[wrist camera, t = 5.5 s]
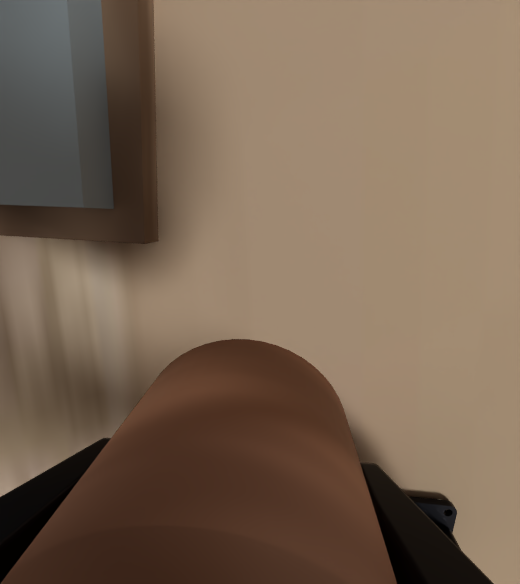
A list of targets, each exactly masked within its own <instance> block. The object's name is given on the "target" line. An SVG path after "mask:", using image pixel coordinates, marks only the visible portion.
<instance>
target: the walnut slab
mask: <svg viewBox="0 0 520 584" xmlns="http://www.w3.org/2000/svg"><path fill="white" fill-rule="evenodd" d="M101 8H102V24H103V39H104V55H105V70H106V86H107V102H108V118H109V135H110V152H111V168H112V185H113V201H114V209H101V208H75V207H48V206H21V205H0V235H6V236H22V237H39V238H56V239H73V240H89V241H106V242H123V243H140V244H146V243H151V242H156V241H158V205H157V155H156V105H155V55H154V5H153V0H101Z"/></svg>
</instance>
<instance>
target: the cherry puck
mask: <svg viewBox="0 0 520 584" xmlns="http://www.w3.org/2000/svg"><path fill="white" fill-rule="evenodd" d="M1 584H397V581H396V578H395V575H394V572H393V568H392V565H391V562H390V559H389V555H388V552H387V549H386V546H385V542H384V539H383V536H382V533H381V529H380V526H379V523H378V520H377V516H376V513H375V510H374V507H373V503H372V500H371V497H370V494H369V490H368V487H367V484H366V480H365V477H364V474H363V471H362V467H361V464H360V461H359V458H358V454H357V451H356V448H355V445H354V441H353V438H352V435H351V432H350V428H349V425H348V422H347V419H346V415H345V412H344V409H343V407H342V404H341V402H340V399H339V397H338V395H337V394H336V392H335V390H334V389H333V387H332V386H331V384H330V383H329V382H328V381H327V379H326V378H325V377H324V376H323V375H322V374H321V373H320V372H319V371H318V370H317V369H316V368H315V367H314V366H313V365H311V364H310V363H309V362H307V361H306V360H305V359H303V358H302V357H300V356H298V355H296V354H295V353H293V352H291V351H289V350H287V349H284V348H282V347H279V346H277V345H273V344H269V343H266V342H262V341H255V340H245V339H231V340H222V341H216V342H212V343H208V344H204V345H202V346H199V347H197V348H194V349H192V350H190V351H188V352H186V353H184V354H183V355H181V356H179V357H178V358H177V359H175V360H174V361H173V362H171V363H170V364H169V365H168V366H167V367H166V368H165V369H164V370H163V371H162V372H161V373H160V375H159V376H158V377H157V379H156V380H155V381H154V383H153V384H152V385H151V387H150V388H149V389H148V391H147V392H146V393H145V394H144V396H143V397H142V398H141V400H140V401H139V402H138V404H137V405H136V406H135V408H134V409H133V410H132V412H131V413H130V414H129V415H128V417H127V418H126V419H125V421H124V422H123V423H122V425H121V426H120V427H119V429H118V430H117V431H116V433H115V434H114V435H113V436H112V438H111V439H110V440H109V442H108V443H107V444H106V446H105V447H104V448H103V450H102V451H101V452H100V454H99V455H98V456H97V458H96V459H95V460H94V461H93V463H92V464H91V465H90V467H89V468H88V469H87V471H86V472H85V473H84V475H83V476H82V477H81V479H80V480H79V481H78V482H77V484H76V485H75V486H74V488H73V489H72V490H71V492H70V493H69V494H68V496H67V497H66V498H65V500H64V501H63V502H62V503H61V505H60V506H59V507H58V509H57V510H56V511H55V513H54V514H53V515H52V517H51V518H50V519H49V521H48V522H47V523H46V524H45V526H44V527H43V528H42V530H41V531H40V532H39V534H38V535H37V536H36V538H35V539H34V540H33V542H32V543H31V544H30V545H29V547H28V548H27V549H26V551H25V552H24V553H23V555H22V556H21V557H20V559H19V560H18V561H17V563H16V564H15V565H14V566H13V568H12V569H11V570H10V572H9V573H8V574H7V576H6V577H5V578H4V580H3V581H2V582H1Z"/></svg>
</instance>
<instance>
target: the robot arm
mask: <svg viewBox="0 0 520 584" xmlns="http://www.w3.org/2000/svg"><path fill="white" fill-rule="evenodd" d="M110 439H111V438H103V439H101V440H99V441H97V442H95V443H94V444H92V445H90V446H89V447H87V448H85V449H83V450H82V451H80V452H78V453H76V454H75V455H73V456H71V457H69V458H68V459H66V460H64V461H62V462H61V463H59V464H57V465H55V466H54V467H52V468H50V469H48V470H47V471H45V472H43V473H42V474H40V475H38V476H36V477H35V478H33V479H31V480H29V481H28V482H26V483H24V484H22V485H21V486H19V487H17V488H15V489H14V490H12V491H10V492H8V493H7V494H5V495H3V496H1V497H0V584H1V582H2V581H3V580H4V578H5V577H6V576H7V574H8V573H9V572H10V570H11V569H12V568H13V566H14V565H15V564H16V563H17V561H18V560H19V559H20V557H21V556H22V555H23V553H24V552H25V551H26V549H27V548H28V547H29V545H30V544H31V543H32V542H33V540H34V539H35V538H36V536H37V535H38V534H39V532H40V531H41V530H42V528H43V527H44V526H45V524H46V523H47V522H48V521H49V519H50V518H51V517H52V515H53V514H54V513H55V511H56V510H57V509H58V507H59V506H60V505H61V503H62V502H63V501H64V500H65V498H66V497H67V496H68V494H69V493H70V492H71V490H72V489H73V488H74V486H75V485H76V484H77V482H78V481H79V480H80V479H81V477H82V476H83V475H84V473H85V472H86V471H87V469H88V468H89V467H90V465H91V464H92V463H93V461H94V460H95V459H96V458H97V456H98V455H99V454H100V452H101V451H102V450H103V448H104V447H105V446H106V444H107V443H108V442H109V440H110ZM360 464H361V467H362V471H363V474H364V477H365V480H366V484H367V487H368V490H369V494H370V497H371V500H372V503H373V507H374V510H375V513H376V516H377V520H378V523H379V526H380V529H381V533H382V536H383V539H384V542H385V546H386V549H387V552H388V555H389V559H390V562H391V565H392V568H393V572H394V575H395V578H396V581H397V584H493V583H492V581H491V580H490V579H489V578H488V577H487V576H486V575H485V574H484V573H483V572H482V571H481V570H480V569H479V568H478V567H477V566H476V565H475V564H474V563H473V562H472V561H471V560H470V559H469V558H468V557H467V556H466V555H465V554H464V553H463V552H462V551H461V549H460V547H459V545H458V543H457V541H456V539H455V538H454V536H453V534H452V532H453V528H454V523H455V519H456V515H457V511H456V509H455V507H454V505H453V504H452V503H451V502H450V501H447V500H437V499H427V498H417V497H408V496H407V495H406V494H405V493H404V492H403V491H402V490H401V489H400V488H399V487H398V486H397V485H396V484H395V483H394V482H393V481H392V480H391V479H390V478H389V477H388V476H387V474H386V473H385V472H384V471H383V470H382V469H381V468H380V467H379V466H378V465H376V464H374V463H365V462H360ZM447 509H448V510H447Z"/></svg>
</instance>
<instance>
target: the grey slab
mask: <svg viewBox="0 0 520 584" xmlns="http://www.w3.org/2000/svg"><path fill="white" fill-rule="evenodd" d="M0 205H21V206H48V207H75V208H101V209H114V201H113V185H112V168H111V152H110V135H109V118H108V102H107V86H106V70H105V55H104V39H103V24H102V8H101V0H0Z"/></svg>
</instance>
